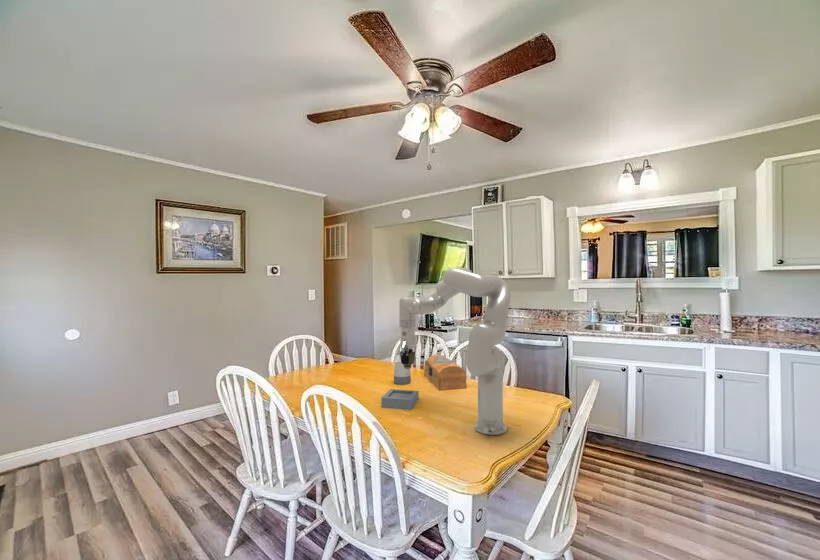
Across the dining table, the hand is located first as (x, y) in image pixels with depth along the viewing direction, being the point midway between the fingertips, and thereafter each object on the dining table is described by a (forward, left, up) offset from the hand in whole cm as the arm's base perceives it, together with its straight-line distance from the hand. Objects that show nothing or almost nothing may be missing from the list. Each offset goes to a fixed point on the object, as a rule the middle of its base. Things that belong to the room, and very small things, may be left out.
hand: (407, 361), depth 171 cm
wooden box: (+39, -10, -21) cm, 45 cm away
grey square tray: (+1, +4, -21) cm, 21 cm away
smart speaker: (+32, +12, -20) cm, 40 cm away
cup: (0, 0, -3) cm, 3 cm away
